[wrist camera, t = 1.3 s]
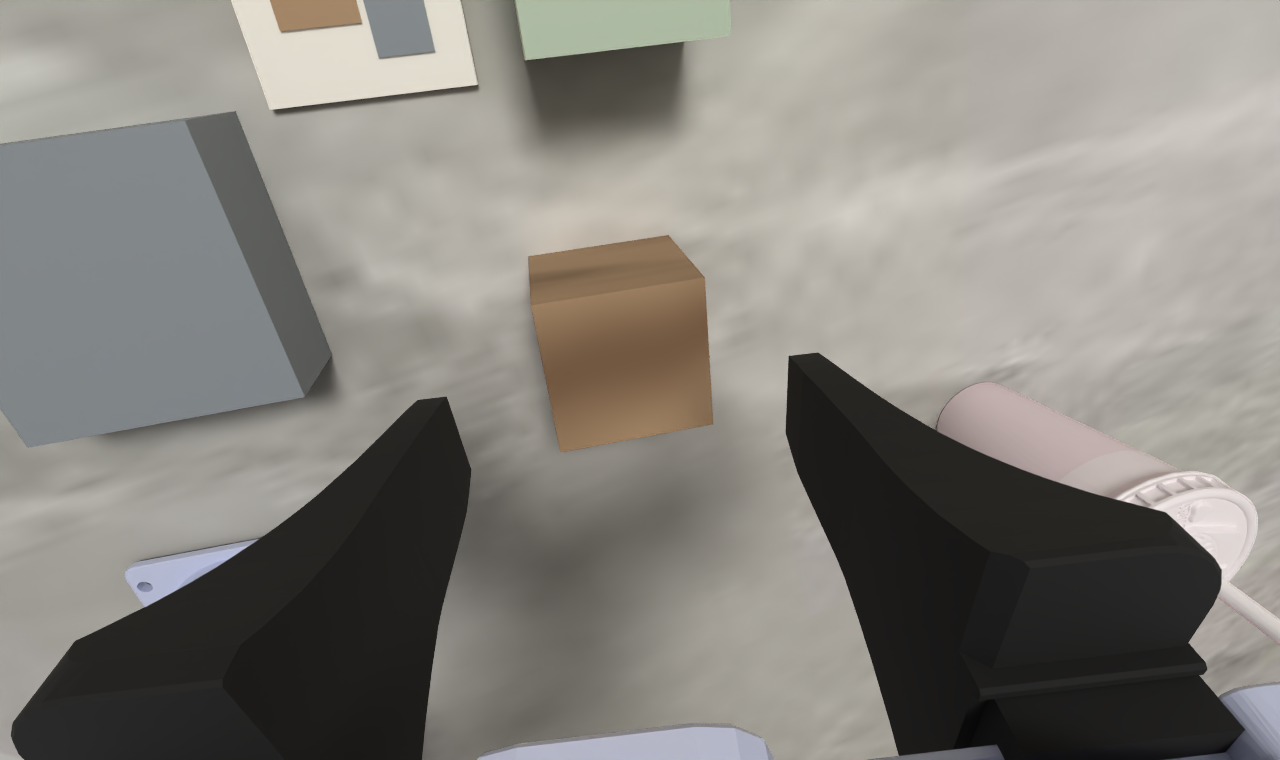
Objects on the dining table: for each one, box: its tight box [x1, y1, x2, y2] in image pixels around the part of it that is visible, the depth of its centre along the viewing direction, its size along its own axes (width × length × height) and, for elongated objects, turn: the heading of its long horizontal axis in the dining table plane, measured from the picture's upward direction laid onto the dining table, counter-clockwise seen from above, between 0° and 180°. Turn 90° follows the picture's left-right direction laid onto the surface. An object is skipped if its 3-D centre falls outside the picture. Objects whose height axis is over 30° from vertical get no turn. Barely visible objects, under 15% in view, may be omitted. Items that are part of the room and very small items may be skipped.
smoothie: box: [937, 382, 1280, 645], centre depth 22 cm, size 6×6×14 cm
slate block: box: [0, 111, 332, 448], centre depth 18 cm, size 8×8×4 cm
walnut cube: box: [529, 235, 713, 452], centre depth 21 cm, size 5×5×5 cm
